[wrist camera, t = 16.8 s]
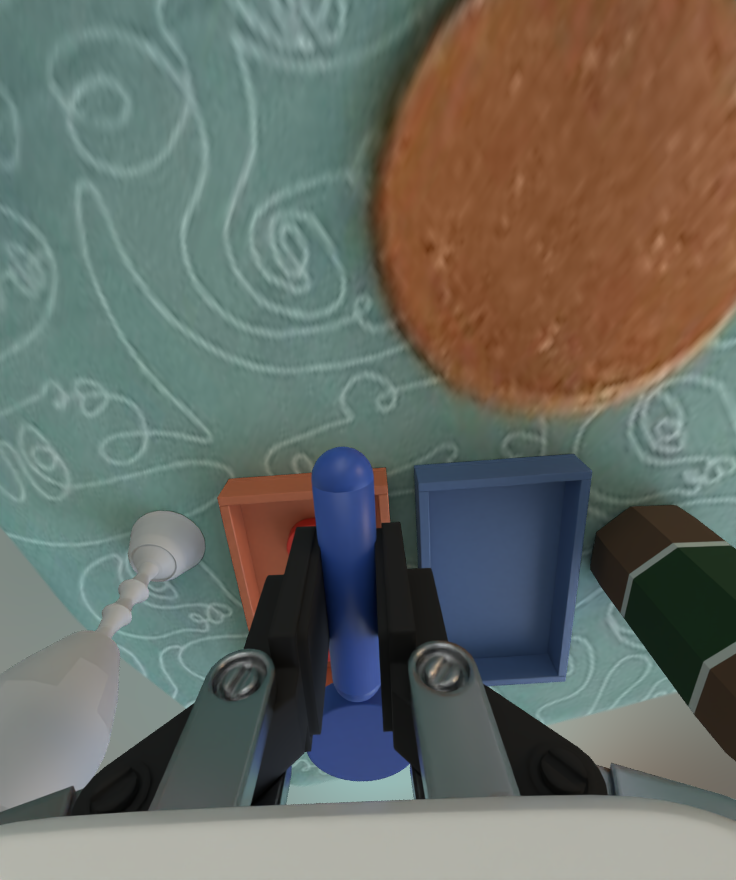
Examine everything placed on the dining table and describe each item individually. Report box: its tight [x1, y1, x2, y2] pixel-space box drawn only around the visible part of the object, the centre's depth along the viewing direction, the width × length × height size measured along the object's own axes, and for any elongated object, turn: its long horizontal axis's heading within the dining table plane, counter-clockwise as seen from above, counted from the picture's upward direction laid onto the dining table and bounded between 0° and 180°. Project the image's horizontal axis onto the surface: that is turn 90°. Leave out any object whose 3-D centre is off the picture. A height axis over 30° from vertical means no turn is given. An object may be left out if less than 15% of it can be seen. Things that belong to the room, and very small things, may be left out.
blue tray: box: [414, 454, 592, 686], centre depth 30 cm, size 17×10×2 cm, turn 5°
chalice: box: [0, 511, 205, 812], centre depth 22 cm, size 7×7×18 cm
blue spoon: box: [307, 447, 410, 781], centre depth 12 cm, size 12×4×2 cm, turn 3°
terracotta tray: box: [217, 468, 390, 687], centre depth 30 cm, size 17×10×2 cm, turn 4°
